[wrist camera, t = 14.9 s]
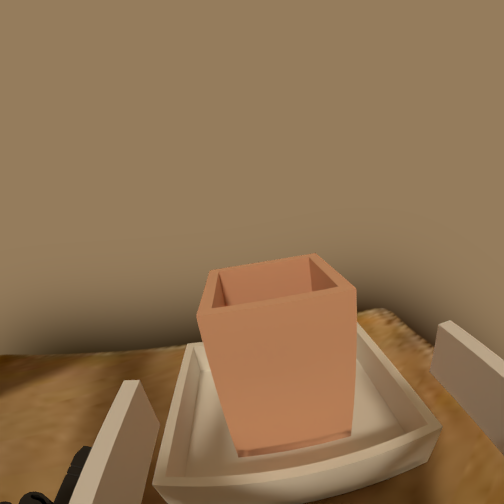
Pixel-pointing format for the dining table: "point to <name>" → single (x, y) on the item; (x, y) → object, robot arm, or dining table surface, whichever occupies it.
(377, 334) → the dining table surface
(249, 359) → the box
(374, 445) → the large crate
